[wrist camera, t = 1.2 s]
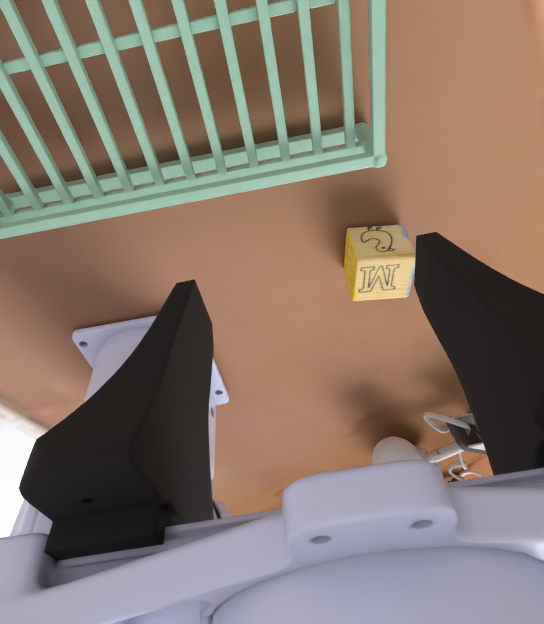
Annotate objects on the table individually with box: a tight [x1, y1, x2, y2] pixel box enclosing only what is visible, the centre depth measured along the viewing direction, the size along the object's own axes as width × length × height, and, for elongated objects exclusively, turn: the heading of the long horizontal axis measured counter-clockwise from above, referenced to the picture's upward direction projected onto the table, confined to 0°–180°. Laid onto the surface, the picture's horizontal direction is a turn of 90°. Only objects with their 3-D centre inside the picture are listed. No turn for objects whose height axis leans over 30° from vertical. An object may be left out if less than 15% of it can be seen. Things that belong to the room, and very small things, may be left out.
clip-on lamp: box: [371, 412, 487, 483], centre depth 38 cm, size 12×6×18 cm
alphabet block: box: [344, 225, 416, 301], centre depth 24 cm, size 3×3×3 cm
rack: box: [0, 0, 388, 239], centre depth 16 cm, size 18×12×4 cm, turn 100°
